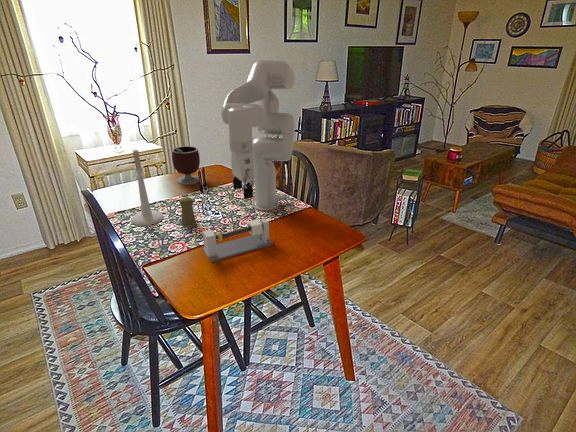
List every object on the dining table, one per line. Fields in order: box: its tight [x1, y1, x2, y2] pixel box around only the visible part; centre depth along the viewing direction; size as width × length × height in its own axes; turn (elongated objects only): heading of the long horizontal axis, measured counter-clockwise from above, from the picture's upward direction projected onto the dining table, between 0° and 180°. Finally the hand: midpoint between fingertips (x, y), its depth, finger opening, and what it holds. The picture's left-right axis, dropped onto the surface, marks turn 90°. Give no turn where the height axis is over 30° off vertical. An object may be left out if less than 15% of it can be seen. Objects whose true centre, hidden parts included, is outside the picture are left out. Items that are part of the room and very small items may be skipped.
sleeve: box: [247, 219, 262, 236], centre depth 130 cm, size 4×4×4 cm
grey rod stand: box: [202, 218, 274, 263], centre depth 128 cm, size 24×9×9 cm, turn 121°
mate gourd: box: [171, 145, 201, 185], centre depth 185 cm, size 16×14×20 cm
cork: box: [179, 196, 197, 227], centre depth 144 cm, size 6×6×11 cm
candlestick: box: [130, 149, 164, 227], centre depth 143 cm, size 13×13×30 cm
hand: (242, 193), depth 125 cm, fingers open, 9 cm apart
